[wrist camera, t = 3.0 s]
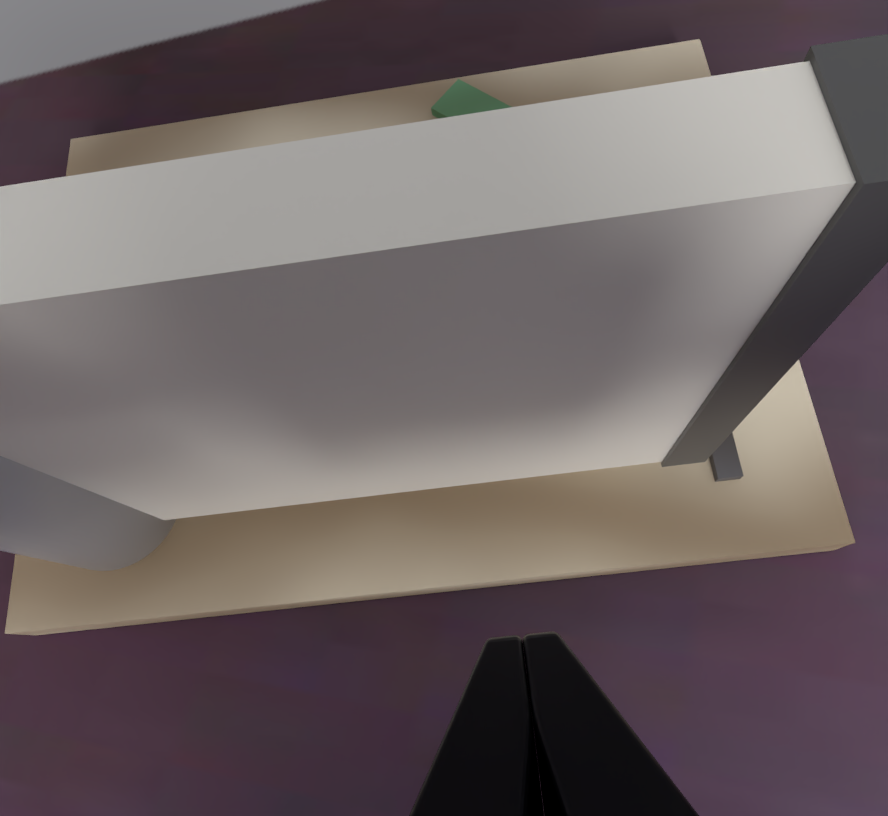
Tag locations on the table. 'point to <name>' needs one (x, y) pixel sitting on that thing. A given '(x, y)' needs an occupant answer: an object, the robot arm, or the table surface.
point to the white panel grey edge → (428, 300)
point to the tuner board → (466, 506)
